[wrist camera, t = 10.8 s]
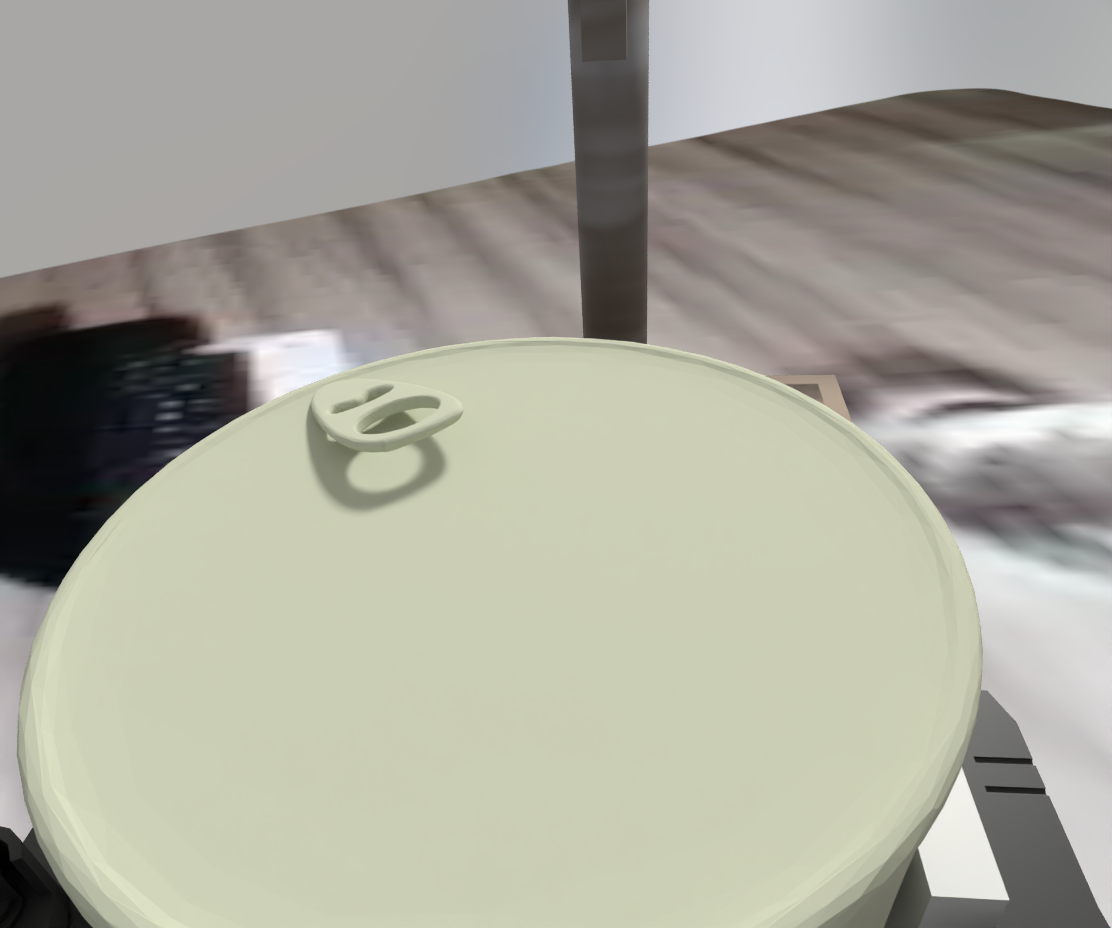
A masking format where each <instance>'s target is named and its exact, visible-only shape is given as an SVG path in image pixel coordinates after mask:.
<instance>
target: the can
mask: <svg viewBox="0 0 1112 928" xmlns="http://www.w3.org/2000/svg"><path fill="white" fill-rule="evenodd" d="M982 661H983V647H982V637H981V627H980V619H979V614H978V608H977V603H976V597H975V592H974V589H973V586H972V583H971V580H970V577H969V574H968V571H967V568H966V565H965V562H964V559H963V556H962V554H961V552H960V550H959V548H958V545H957V543H956V542H955V540H954V538H953V536H952V534H951V532H950V530H949V529H948V527H947V525H946V523H945V521H944V519H943V518H942V516H941V515H940V513H939V511H938V510H937V508H936V507H935V505H934V504H933V503H932V501H931V500H930V498H929V497H928V496H927V494H926V493H925V492H924V490H923V489H922V488H921V486H920V485H919V484H918V483H917V482H916V481H915V479H914V478H913V477H912V476H911V475H910V474H909V473H908V472H907V471H906V470H905V469H904V468H903V467H902V465H901V464H900V463H899V462H898V461H897V460H896V459H895V458H894V457H893V456H892V455H891V454H890V453H889V452H888V451H886V450H885V449H884V448H883V447H882V446H881V445H880V444H879V443H877V442H876V441H875V440H874V439H872V438H871V437H870V436H869V435H867V434H866V433H865V432H863V431H862V430H861V429H860V428H858V427H857V426H856V425H854V424H853V423H851V422H850V421H848V420H847V419H845V418H844V417H842V416H841V415H839V414H838V413H836V412H835V411H833V410H832V409H830V408H829V407H827V406H825V405H824V404H822V403H820V402H818V401H816V400H814V399H812V398H810V397H809V396H807V395H805V394H803V393H801V392H799V391H797V390H795V389H794V388H791V387H789V386H787V385H785V384H783V383H780V382H778V381H776V380H774V379H771V378H769V377H766V376H763V375H761V374H758V373H756V372H753V371H750V370H748V369H745V368H742V367H740V366H737V365H734V364H730V363H727V362H724V361H720V360H717V359H713V358H710V357H707V356H703V355H698V354H694V353H689V352H685V351H680V350H676V349H671V348H665V347H659V346H653V345H648V344H642V343H636V342H627V341H615V340H604V339H591V338H563V337H537V338H517V339H502V340H488V341H481V342H473V343H465V344H458V345H450V346H444V347H438V348H433V349H427V350H422V351H418V352H413V353H409V354H405V355H400V356H396V357H392V358H388V359H384V360H380V361H377V362H373V363H369V364H366V365H362V366H359V367H356V368H353V369H350V370H347V371H344V372H341V373H338V374H335V375H333V376H330V377H327V378H325V379H322V380H320V381H317V382H314V383H312V384H309V385H307V386H304V387H302V388H299V389H297V390H294V391H292V392H290V393H287V394H285V395H283V396H281V397H279V398H276V399H274V400H272V401H270V402H268V403H266V404H264V405H262V406H260V407H258V408H256V409H254V410H252V411H250V412H248V413H247V414H245V415H243V416H241V417H239V418H237V419H235V420H234V421H232V422H230V423H229V424H227V425H225V426H224V427H222V428H221V429H219V430H217V431H216V432H214V433H213V434H211V435H209V436H208V437H206V438H205V439H203V440H201V441H200V442H198V443H197V444H195V445H194V446H193V447H191V448H190V449H188V450H187V451H185V452H184V453H183V454H181V455H180V456H178V457H177V458H176V459H174V460H173V461H171V462H170V463H169V464H168V465H166V466H165V467H164V468H163V469H162V470H161V471H159V472H158V473H157V474H156V475H155V476H154V477H152V478H151V479H150V480H149V481H148V482H146V483H145V484H144V485H143V486H142V487H141V488H139V489H138V490H137V491H136V492H135V493H134V494H133V495H132V496H131V497H130V498H129V499H128V500H127V501H126V502H125V503H124V504H123V505H122V506H121V507H120V508H119V509H118V510H117V511H116V512H115V513H114V514H113V515H112V516H111V517H110V518H109V519H108V520H107V521H106V523H105V524H104V525H103V526H102V528H101V529H100V530H99V531H98V533H97V534H96V535H95V536H94V537H93V539H92V540H91V541H90V542H89V544H88V545H87V546H86V547H85V548H84V550H83V551H82V552H81V553H80V555H79V557H78V558H77V560H76V561H75V563H74V564H73V566H72V567H71V569H70V570H69V572H68V573H67V575H66V576H65V578H64V579H63V581H62V583H61V585H60V586H59V588H58V590H57V592H56V594H55V595H54V597H53V599H52V601H51V603H50V604H49V607H48V609H47V611H46V614H45V616H44V618H43V621H42V623H41V625H40V628H39V630H38V632H37V635H36V637H35V639H34V642H33V644H32V647H31V651H30V655H29V658H28V662H27V665H26V669H25V673H24V678H23V682H22V687H21V691H20V702H19V716H18V734H17V758H18V764H19V770H20V776H21V782H22V788H23V794H24V800H25V803H26V806H27V810H28V813H29V816H30V819H31V822H32V825H33V828H34V832H35V835H36V838H37V841H38V843H39V845H40V847H41V849H42V851H43V853H44V855H45V857H46V859H47V860H48V862H49V864H50V866H51V868H52V870H53V872H54V874H55V876H56V877H57V879H58V881H59V883H60V884H61V886H62V887H63V889H64V890H65V892H66V893H67V894H68V896H69V897H70V899H71V900H72V902H73V903H74V904H75V906H76V907H77V909H78V910H79V912H80V913H81V915H82V916H83V917H84V919H85V920H86V921H87V922H88V923H89V924H90V925H91V926H92V927H93V928H884V925H885V923H886V920H887V918H888V915H889V913H890V910H891V908H892V905H893V903H894V900H895V898H896V895H897V893H898V891H899V888H900V886H901V883H902V881H903V878H904V876H905V874H906V871H907V869H908V867H909V865H910V863H911V861H912V858H913V856H914V854H915V852H916V850H917V848H918V847H919V846H920V844H921V843H922V842H923V840H924V838H925V837H926V835H927V833H928V832H929V830H930V829H931V827H932V825H933V824H934V822H935V820H936V819H937V817H938V815H939V814H940V812H941V810H942V809H943V807H944V805H945V803H946V801H947V799H948V797H949V795H950V792H951V790H952V788H953V786H954V784H955V781H956V779H957V777H958V775H959V773H960V770H961V767H962V764H963V761H964V758H965V755H966V752H967V749H968V746H969V742H970V739H971V736H972V733H973V730H974V727H975V724H976V718H977V712H978V706H979V700H980V693H981V681H982Z"/></svg>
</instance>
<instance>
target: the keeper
mask: <svg viewBox="0 0 1112 928" xmlns="http://www.w3.org/2000/svg"><path fill="white" fill-rule="evenodd" d="M568 13H569V34H570V35H569V36H570V57H571V79H572V100H573V121H574V144H575V165H576V187H577V208H578V230H579V251H580V273H581V295H582V316H583V338H591V339H604V340H615V341H627V342H636V343H642V344H647V232H648V69H649V67H648V66H649V65H648V64H649V63H648V61H649V0H568ZM766 377H769V378H771V379H774V380H776V381H778V382H780V383H783V384H785V385H787V386H789V387H791V388H794V389H795V390H797V391H799V392H801V393H803V394H805V395H807V396H809V397H810V398H812V399H814V400H816V401H818V402H820V403H822V404H824V405H825V406H827V407H829V408H830V409H832V410H833V411H835V412H836V413H838V414H839V415H841V416H842V417H844V418H845V419H847V420H848V421H850V422H851V423H852V421H851V418H850V415H849V412H848V410H847V407H846V404H845V401H844V399H843V396H842V393H841V390H840V388H839V385H838V382H837V379H836V377H835V375H773V376H766Z"/></svg>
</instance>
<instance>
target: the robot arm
mask: <svg viewBox="0 0 1112 928" xmlns="http://www.w3.org/2000/svg"><path fill="white" fill-rule="evenodd" d="M1045 789H1046V788H1045V786H1044V784H1043V781H1042V779H1041V777H1040V775H1039V772H1038V770H1037V768H1036V766H1033V763H1032V757H1031V754H1030V752H1029V750H1028V747H1027V745H1026V743H1025V741H1024V738H1023V736H1022V734H1021V732H1020V729H1019V727H1018V725H1017V723H1016V721H1015V720H1014V719H1013V718H1012V717H1011V716H1010V715H1009V714H1008V713H1007V712H1006V711H1005V710H1004V708H1003V707H1002V706H1001V705H1000V704H999V703H998V702H997V701H996V700H995V699H994V698H993V697H992V696H991V694H990V693H989V692H988V691H982V690H981V693H980V700H979V706H978V712H977V718H976V724H975V727H974V730H973V733H972V736H971V739H970V742H969V746H968V749H967V752H966V755H965V758H964V761H963V764H962V767H961V770H960V773H959V775H958V777H957V779H956V781H955V784H954V786H953V788H952V790H951V792H950V795H949V797H948V799H947V801H946V803H945V805H944V807H943V809H942V810H941V812H940V814H939V815H938V817H937V819H936V820H935V822H934V824H933V825H932V827H931V829H930V830H929V832H928V833H927V835H926V837H925V838H924V840H923V842H922V843H921V844H920V846H919V847H918V848H917V850H916V852H915V854H914V856H913V858H912V861H911V863H910V865H909V867H908V869H907V871H906V874H905V876H904V878H903V881H902V883H901V886H900V888H899V891H898V893H897V895H896V898H895V900H894V903H893V905H892V908H891V910H890V913H889V915H888V918H887V920H886V923H885V925H884V928H1110V927H1109V925H1108V924H1107V922H1106V920H1105V918H1104V916H1103V915H1102V913H1101V911H1100V909H1099V908H1098V906H1097V904H1096V901H1095V899H1094V897H1093V894H1092V892H1091V890H1090V888H1089V885H1088V883H1087V881H1086V879H1085V876H1084V874H1083V872H1082V870H1081V867H1080V865H1079V863H1078V861H1077V858H1076V856H1075V854H1074V851H1073V849H1072V847H1071V845H1070V842H1069V840H1068V838H1067V836H1066V833H1065V831H1064V829H1063V827H1062V824H1061V822H1060V820H1059V818H1058V815H1057V813H1056V811H1055V809H1054V806H1053V804H1052V802H1051V799H1050V797H1049V796H1047V795H1046V793H1045ZM0 928H93V927H92V926H91V925H90V924H89V923H88V922H87V921H86V920H85V919H84V917H83V916H82V915H81V913H80V912H79V910H78V909H77V907H76V906H75V904H74V903H73V902H72V900H71V899H70V897H69V896H68V894H67V893H66V892H65V890H64V889H63V887H62V886H61V884H60V883H59V881H58V879H57V877H56V876H55V874H54V872H53V870H52V868H51V866H50V864H49V862H48V860H47V859H46V857H45V855H44V853H43V851H42V849H41V847H40V845H39V843H38V841H37V838H36V835H35V832H34V828H32V829H31V831H30V833H29V834H28V836H27V837H26V839H25V840H24V842H22V841H21V840H20V839H19V838H18V837H17V836H16V835H15V833H14V832H13V831H12V830H11V829H10V828H5V827H1V826H0Z"/></svg>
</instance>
